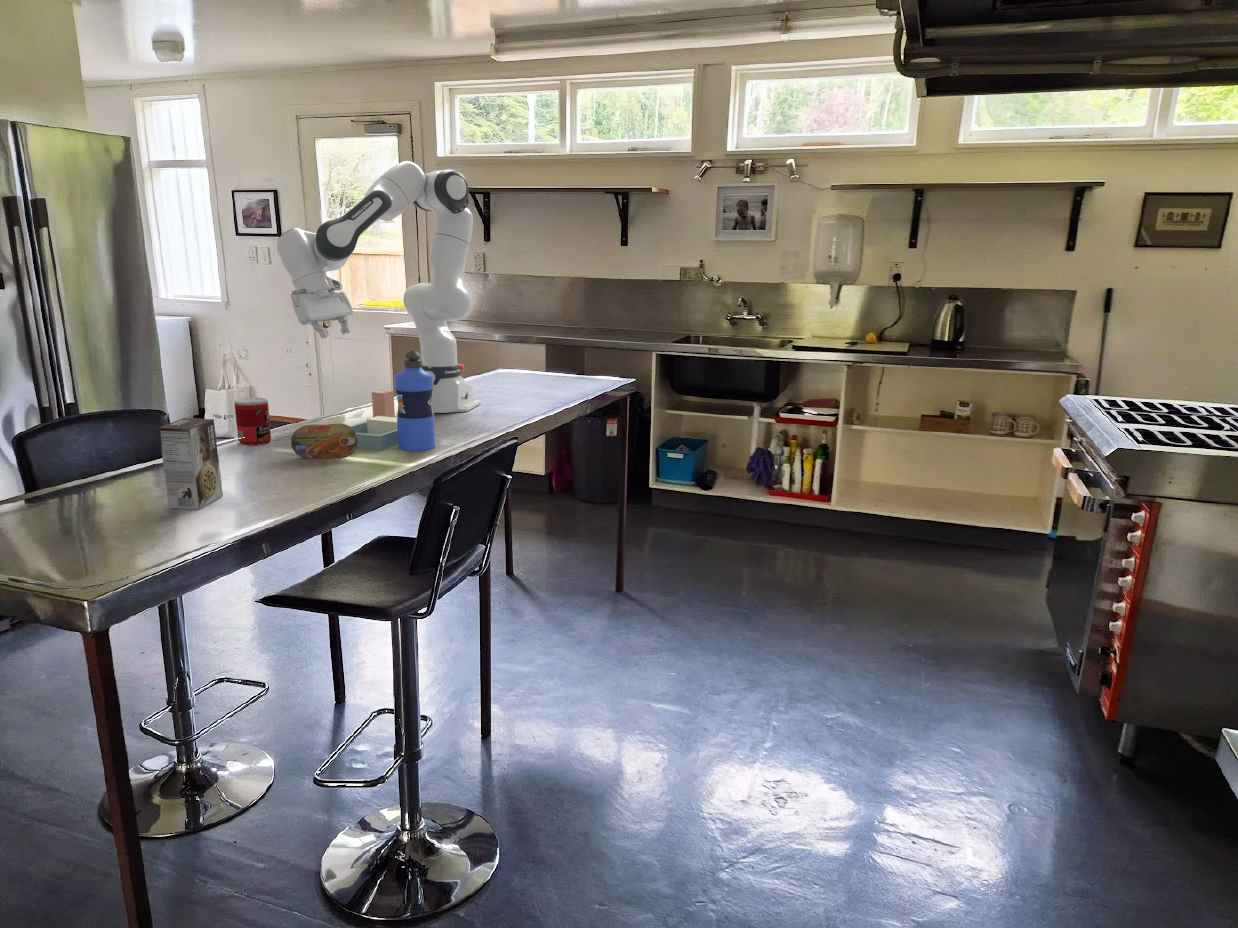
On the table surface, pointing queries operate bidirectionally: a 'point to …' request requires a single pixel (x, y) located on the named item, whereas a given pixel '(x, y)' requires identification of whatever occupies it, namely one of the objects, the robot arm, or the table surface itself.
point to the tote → (374, 438)
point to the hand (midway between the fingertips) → (336, 335)
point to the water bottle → (414, 406)
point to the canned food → (252, 421)
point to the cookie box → (190, 463)
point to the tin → (324, 441)
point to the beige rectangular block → (381, 425)
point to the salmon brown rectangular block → (383, 403)
